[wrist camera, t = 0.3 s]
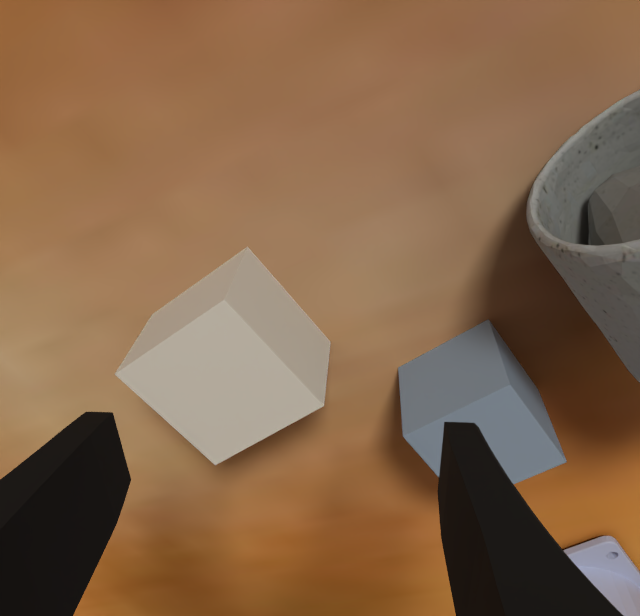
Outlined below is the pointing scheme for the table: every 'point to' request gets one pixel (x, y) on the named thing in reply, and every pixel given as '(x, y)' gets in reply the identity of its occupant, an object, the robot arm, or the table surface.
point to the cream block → (230, 360)
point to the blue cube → (478, 403)
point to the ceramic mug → (597, 222)
